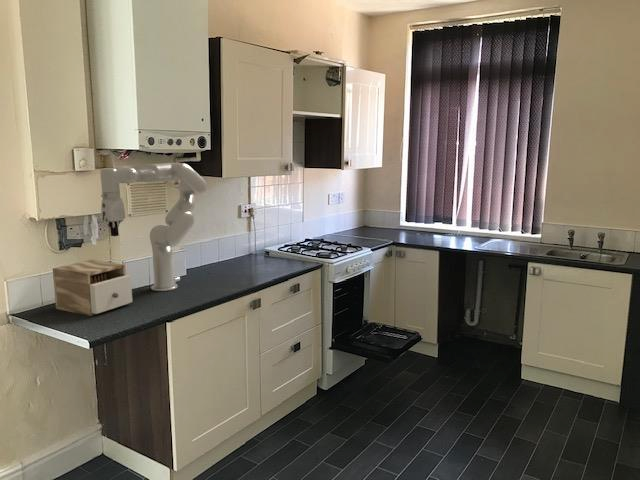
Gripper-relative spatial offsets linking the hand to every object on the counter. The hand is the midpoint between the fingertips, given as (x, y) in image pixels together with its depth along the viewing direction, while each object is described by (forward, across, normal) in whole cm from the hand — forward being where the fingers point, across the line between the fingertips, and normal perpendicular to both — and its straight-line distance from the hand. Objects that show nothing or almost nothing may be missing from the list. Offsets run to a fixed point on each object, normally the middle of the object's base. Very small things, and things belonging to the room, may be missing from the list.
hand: (114, 235), depth 247 cm
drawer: (+28, -15, -2) cm, 32 cm away
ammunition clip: (+27, -15, -3) cm, 31 cm away
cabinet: (+29, -15, +1) cm, 33 cm away
